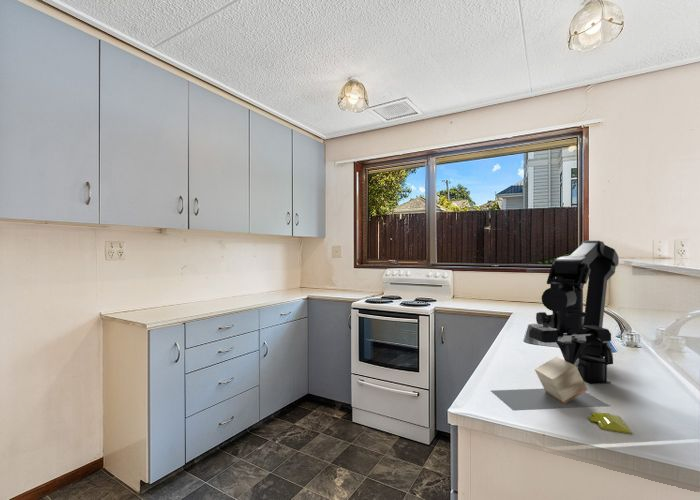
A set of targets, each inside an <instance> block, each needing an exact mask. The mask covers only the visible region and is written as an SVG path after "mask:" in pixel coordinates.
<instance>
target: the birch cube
mask: <svg viewBox="0 0 700 500" xmlns="http://www.w3.org/2000/svg"><path fill="white" fill-rule="evenodd" d="M534 371H535V374H537V378H538V379H539V381H540V383H541V386H542V387H543V389H545V391H546V392H547V393H548V394H550V395H551V396H553V397H555V398H556V399H558V400H559V401H561V402H562V403H564V404H565V403H567V402H568V401H570V400H572V399H573V398H575V397H577V396H579V395H580V394H582V393H584V392H586V393H587V391H588V388H587V385H586V383H585V381H584V380H583V379H582V377H581V375H580V373H579V371H578V366H577V365H573V364H571V363H569V362H567V361H565V360H564V358H563V359H562V358H560V357H558V356H555V357H553V358H551V359H550V360H548V361H546V362H545V363H543V364H541V365H539V366H538V367H536V368H534Z"/></svg>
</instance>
